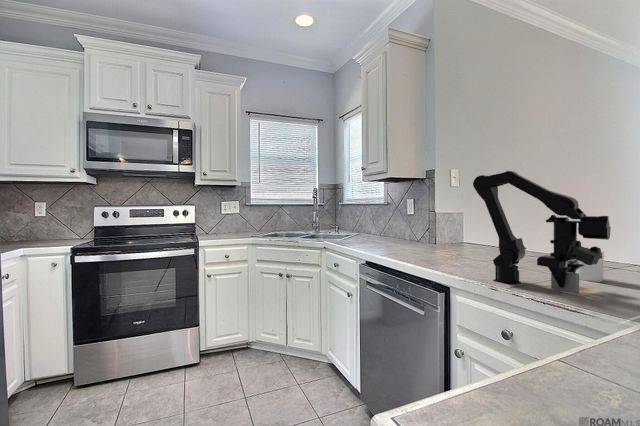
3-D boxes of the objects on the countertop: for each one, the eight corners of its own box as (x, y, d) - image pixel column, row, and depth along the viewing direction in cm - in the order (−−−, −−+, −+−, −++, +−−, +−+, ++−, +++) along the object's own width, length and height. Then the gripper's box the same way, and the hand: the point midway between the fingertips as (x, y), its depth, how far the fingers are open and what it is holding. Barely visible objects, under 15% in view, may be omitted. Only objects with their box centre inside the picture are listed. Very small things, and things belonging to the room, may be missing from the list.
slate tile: (551, 288, 102) (551, 269, 102) (554, 287, 102) (554, 269, 102) (576, 293, 95) (576, 274, 95) (579, 293, 96) (579, 273, 96)
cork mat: (540, 288, 104) (540, 287, 104) (560, 283, 108) (560, 282, 108) (583, 298, 93) (583, 296, 93) (603, 292, 97) (603, 291, 97)
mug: (594, 275, 118) (595, 247, 118) (607, 283, 107) (608, 252, 107) (566, 274, 122) (566, 246, 122) (576, 281, 111) (576, 251, 111)
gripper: (577, 242, 87) (577, 298, 88) (613, 237, 95) (612, 289, 95) (535, 238, 97) (535, 288, 98) (570, 234, 105) (570, 281, 106)
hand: (564, 286), depth 99 cm, fingers open, 3 cm apart
